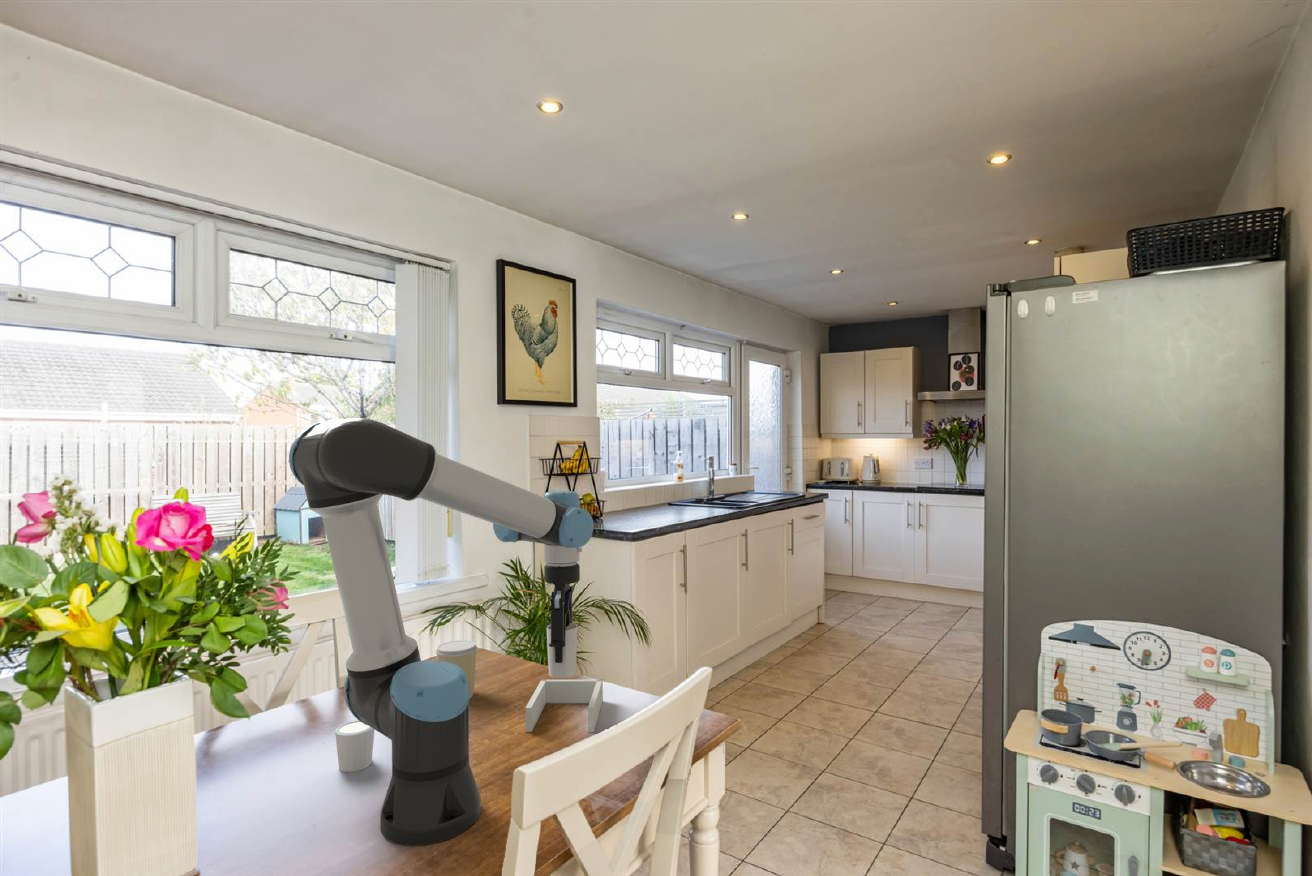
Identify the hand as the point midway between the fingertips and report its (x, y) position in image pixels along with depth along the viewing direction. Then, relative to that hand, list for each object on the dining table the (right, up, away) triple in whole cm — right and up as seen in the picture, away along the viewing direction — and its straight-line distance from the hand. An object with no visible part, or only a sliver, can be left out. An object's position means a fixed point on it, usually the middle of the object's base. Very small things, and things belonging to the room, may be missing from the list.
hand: (562, 671), depth 143 cm
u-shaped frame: (0, -11, +3) cm, 11 cm away
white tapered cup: (-36, -11, -18) cm, 42 cm away
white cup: (0, -1, 0) cm, 1 cm away
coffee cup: (-27, -12, +16) cm, 34 cm away
